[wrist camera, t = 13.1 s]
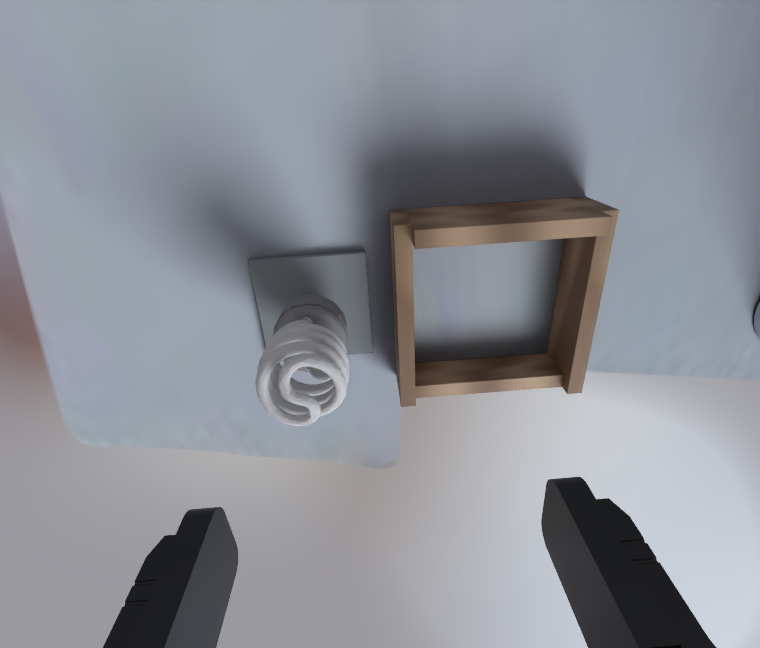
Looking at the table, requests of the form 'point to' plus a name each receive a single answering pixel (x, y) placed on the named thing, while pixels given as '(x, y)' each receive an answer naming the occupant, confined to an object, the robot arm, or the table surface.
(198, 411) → the table surface
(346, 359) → the light bulb
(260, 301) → the slate mat
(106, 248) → the table surface
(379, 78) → the table surface
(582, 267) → the wooden frame
